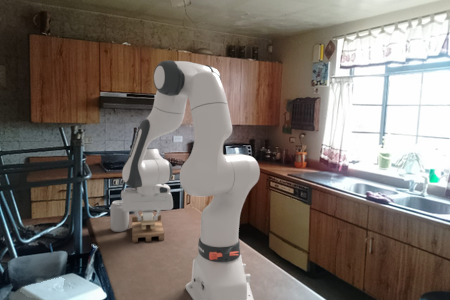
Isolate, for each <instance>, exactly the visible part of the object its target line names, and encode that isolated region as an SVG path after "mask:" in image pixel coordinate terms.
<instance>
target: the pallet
mask: <svg viewBox="0 0 450 300" xmlns="http://www.w3.org/2000/svg"><path fill="white" fill-rule="evenodd" d="M140 216H141V227H142V229H146V225H150V228H151V229H155V220H154V214H153V220H147V221H143V213H141V214H140Z"/></svg>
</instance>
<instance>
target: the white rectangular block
mask: <svg viewBox="0 0 450 300" xmlns="http://www.w3.org/2000/svg"><path fill="white" fill-rule="evenodd" d="M142 214H143V221H147V220H153V215H154V211H142Z"/></svg>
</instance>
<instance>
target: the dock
mask: <svg viewBox="0 0 450 300" xmlns="http://www.w3.org/2000/svg"><path fill="white" fill-rule="evenodd" d="M153 215H154V214H153ZM154 216H156V214H155V215H154ZM131 225H132V226H131V239H132V243H139V238H144V239H145V242H152V238H155V237H157V238H158V241H165V231H164V227H163V223H162V215H161V214H159V216H158V221H155V229H151V228H150V225H146V229H142V227H141V222H138V218H137V216H136V215H135V216H134V215H133V216H131Z"/></svg>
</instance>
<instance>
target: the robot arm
mask: <svg viewBox="0 0 450 300" xmlns="http://www.w3.org/2000/svg"><path fill="white" fill-rule="evenodd" d="M153 71H154V72H153V84H154V87H155V89H156V93H155V97H154V101H153V105H152V109H151V111H150V113H149V114H148V116H147V117H146V118H145V119H143V120H142V121H141V122H140V124H139V126H138V129H137V132H136V134H135V137H134V139H133V143H132V146H131V148H130V151H129V153H128V154H129V155H128V156H127V159H126V162H125V163H124V165H123V167H122V171H121V175H122V180H123V183H124V184H126V186H128V187H129V188H127V187H126V188H123V190H121V192H120V198H121V199H122V200H123V201H122V210H123V212H129V213H131V212H134V215H135V216H137V218H138V222H141V215H139V212H143V211H153V212H154V211H156V214H155V215H156V216H154V220H155V221H158V216H159V215H161V213H162V212H161V211H171V210H172V209H173V208H174V200H173V196H172V193H171V187H170V185H168V183H169V182H170V181H171V179H172V178H173V173H174V172H173V165H172V164H171V162H170V161H169V160H168V159H165V158H164V157H162V156H161V155H160V151H159V149H158V148H155V147H150V148H149V147H148V146H149V145H150V143H151V142H153V141H154V140H155V139H158V138H159V137H163V136H165V135H168V134H171V133H173V132H175V131H176V130H177V129H179V128H180V127H181V125H182V124H183V121H184V118H185V113H186V107H187V102H188V101H189V108H190V109H189V110H190V115H191V120H192V127H193V135H194V136H193V137H194V138H193V139H194V141H193V144H192V146H193V147H192V150H191V153H190V155H189V157H188V158H187V160H185V162H184V163H182V166H181V168H180V171H179V183H180V185H181V187H182V189H183V190H184V192H185V194H187V195H189V196H191V197H192V196H193V197H202V198H203V197H204V198H206V197H211V196H213V197H212V199H211V201H210V203H209V204H207V205H206V207H204V209H203V211H202V212H201V215H200V234H199V235H200V237H199V238H198V243H197V249H198V252H197V253H198V254H196V257H194V258H193V260H192V269H191V270H192V271H191V280H190V281H189V282H188V283H186V285H185V289H186V291H187V293H188V294H189V296H190V297H191V298H192V300H255V299H254V296H253V292H252V289H251V286H250V283H251V281H252V278H251V274H250V273H246V272H245V270H246V269H247V264H246V263H243V259H242V258H243V257H242V254H241V243H240V239H239V232H240V231H239V230H240V229H239V228H240V221H241V219H240V218H241V213H242V209H243V206H244V204H245V202H246V199H247V196H248V195H249V193H250V191H251V190H252V188H253V187H254V186H255V185H256V184H257V183H258V181H259V180H260V175H261V174H260V173H261V170H260V165H259V163H258V161H257V160H256V158H254V157H253V156H251V155H248V154H243V153H229V154H224V144H225V141H226V140H227V139H229V138H230V136H231V135H232V133H233V123H232V119H231V114H230V113H231V112H230V108H229V102H228V99H227V95H226V92H225V88H224V85H223V83H222V79H221V74H220V72H219V69H217V68H215V67H213V66H210V65H208V64H205V65H204V64H200V63H195V62H191V61H186V60H185V61H182V60H172V59H170V60H169V59H168V60H163V61H162V60H161V61H160V62H159V63H158V64H157V65H156V66H155V68H154V70H153Z"/></svg>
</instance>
